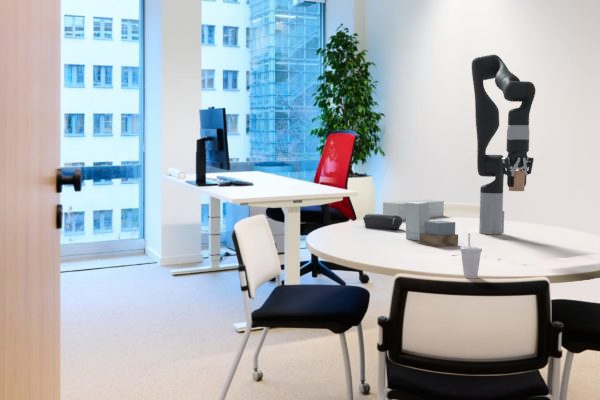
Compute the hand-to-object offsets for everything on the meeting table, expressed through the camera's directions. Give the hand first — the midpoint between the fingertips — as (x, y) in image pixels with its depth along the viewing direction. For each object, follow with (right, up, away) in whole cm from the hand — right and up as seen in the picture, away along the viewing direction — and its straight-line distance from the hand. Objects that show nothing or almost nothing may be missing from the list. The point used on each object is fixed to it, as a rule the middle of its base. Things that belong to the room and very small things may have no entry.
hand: (516, 186), depth 227 cm
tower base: (-25, -22, +13) cm, 36 cm away
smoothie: (-25, -29, -34) cm, 51 cm away
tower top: (-25, -17, +12) cm, 33 cm away
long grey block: (-21, -17, +90) cm, 94 cm away
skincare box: (-30, -21, +26) cm, 45 cm away
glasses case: (-41, -19, +52) cm, 69 cm away
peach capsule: (0, -2, 0) cm, 2 cm away
